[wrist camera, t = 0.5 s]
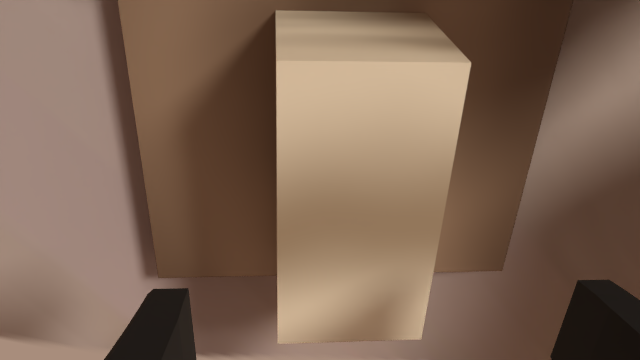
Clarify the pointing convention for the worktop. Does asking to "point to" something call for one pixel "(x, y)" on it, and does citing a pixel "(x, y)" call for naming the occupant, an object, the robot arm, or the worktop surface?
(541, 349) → the worktop surface
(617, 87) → the worktop surface
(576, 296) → the robot arm
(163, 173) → the cradle
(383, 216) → the birch bar
